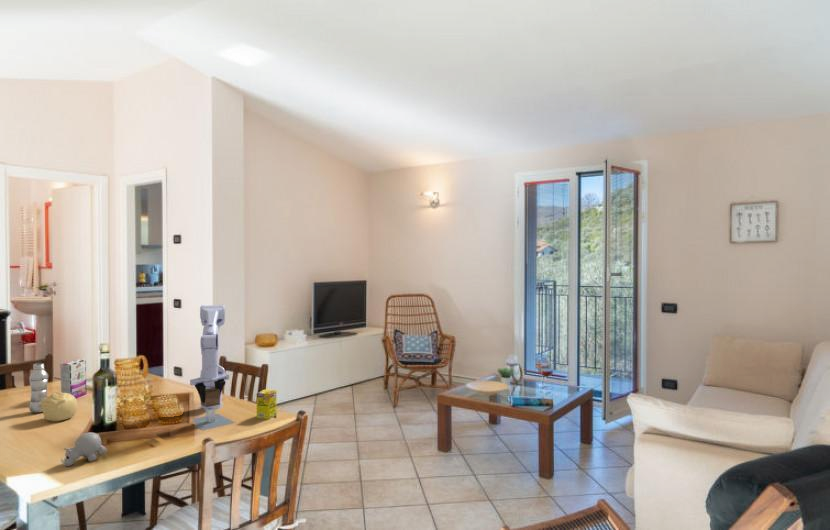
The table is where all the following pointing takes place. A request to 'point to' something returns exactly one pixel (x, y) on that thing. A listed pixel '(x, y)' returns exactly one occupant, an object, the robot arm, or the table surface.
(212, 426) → the slate board
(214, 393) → the walnut cap
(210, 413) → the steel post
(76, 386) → the candy bar box
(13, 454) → the table surface
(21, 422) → the table surface
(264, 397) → the supplement box
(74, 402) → the pale yellow round lump
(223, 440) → the table surface
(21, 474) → the table surface
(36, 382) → the plastic bottle
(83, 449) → the chubby cartoon animal
